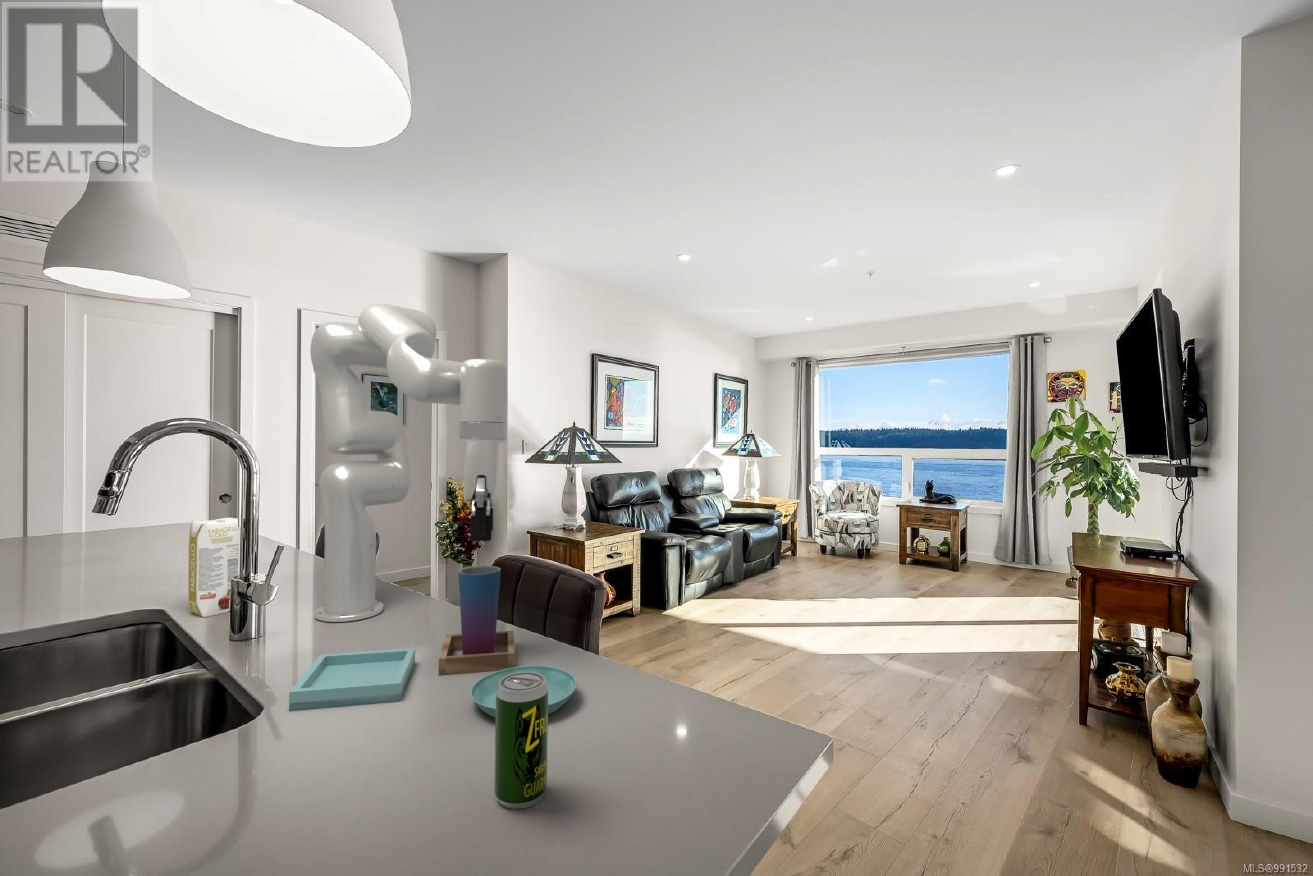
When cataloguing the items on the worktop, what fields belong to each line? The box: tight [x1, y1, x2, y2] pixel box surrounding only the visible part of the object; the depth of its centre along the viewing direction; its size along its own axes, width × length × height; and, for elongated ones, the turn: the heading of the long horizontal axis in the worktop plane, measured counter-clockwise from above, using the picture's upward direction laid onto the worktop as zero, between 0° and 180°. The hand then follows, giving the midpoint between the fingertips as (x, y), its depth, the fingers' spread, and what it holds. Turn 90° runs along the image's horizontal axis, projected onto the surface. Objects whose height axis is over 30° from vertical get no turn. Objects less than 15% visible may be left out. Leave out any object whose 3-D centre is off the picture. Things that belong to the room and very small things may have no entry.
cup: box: [458, 564, 502, 655], centre depth 100 cm, size 7×7×15 cm
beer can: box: [494, 672, 549, 810], centre depth 62 cm, size 5×5×12 cm
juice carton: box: [187, 517, 239, 618], centre depth 123 cm, size 8×9×19 cm
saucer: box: [469, 665, 578, 719], centre depth 84 cm, size 15×15×3 cm
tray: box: [288, 647, 416, 712], centre depth 89 cm, size 14×14×2 cm
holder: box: [438, 630, 515, 676], centre depth 100 cm, size 12×12×2 cm
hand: (482, 535), depth 99 cm, fingers open, 9 cm apart
